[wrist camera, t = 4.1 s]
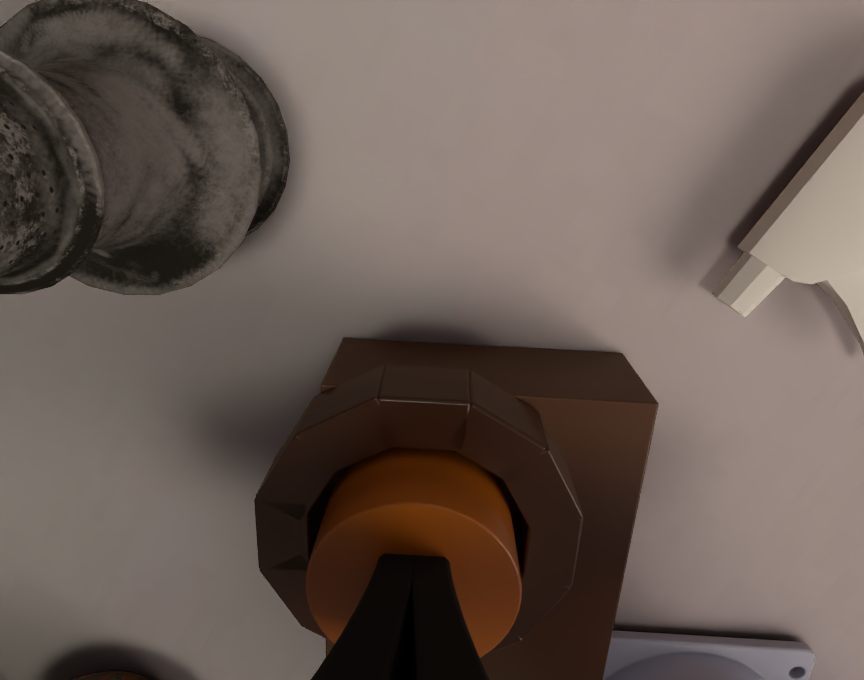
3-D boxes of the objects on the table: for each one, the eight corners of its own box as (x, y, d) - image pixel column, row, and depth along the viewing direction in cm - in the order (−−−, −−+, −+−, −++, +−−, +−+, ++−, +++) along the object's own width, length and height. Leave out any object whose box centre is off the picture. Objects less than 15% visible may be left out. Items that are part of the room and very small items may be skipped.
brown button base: (576, 622, 21) (612, 771, 16) (311, 606, 21) (270, 749, 16) (626, 331, 17) (693, 414, 12) (302, 313, 17) (245, 389, 12)
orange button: (502, 598, 15) (511, 681, 13) (328, 588, 15) (307, 668, 13) (520, 446, 14) (533, 510, 11) (325, 435, 14) (301, 496, 11)
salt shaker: (137, -38, 14) (-1123, -650, 3) (345, 123, 15) (42, 147, 4) (35, 170, 16) (-992, 309, 5) (229, 300, 17) (-211, 670, 6)
